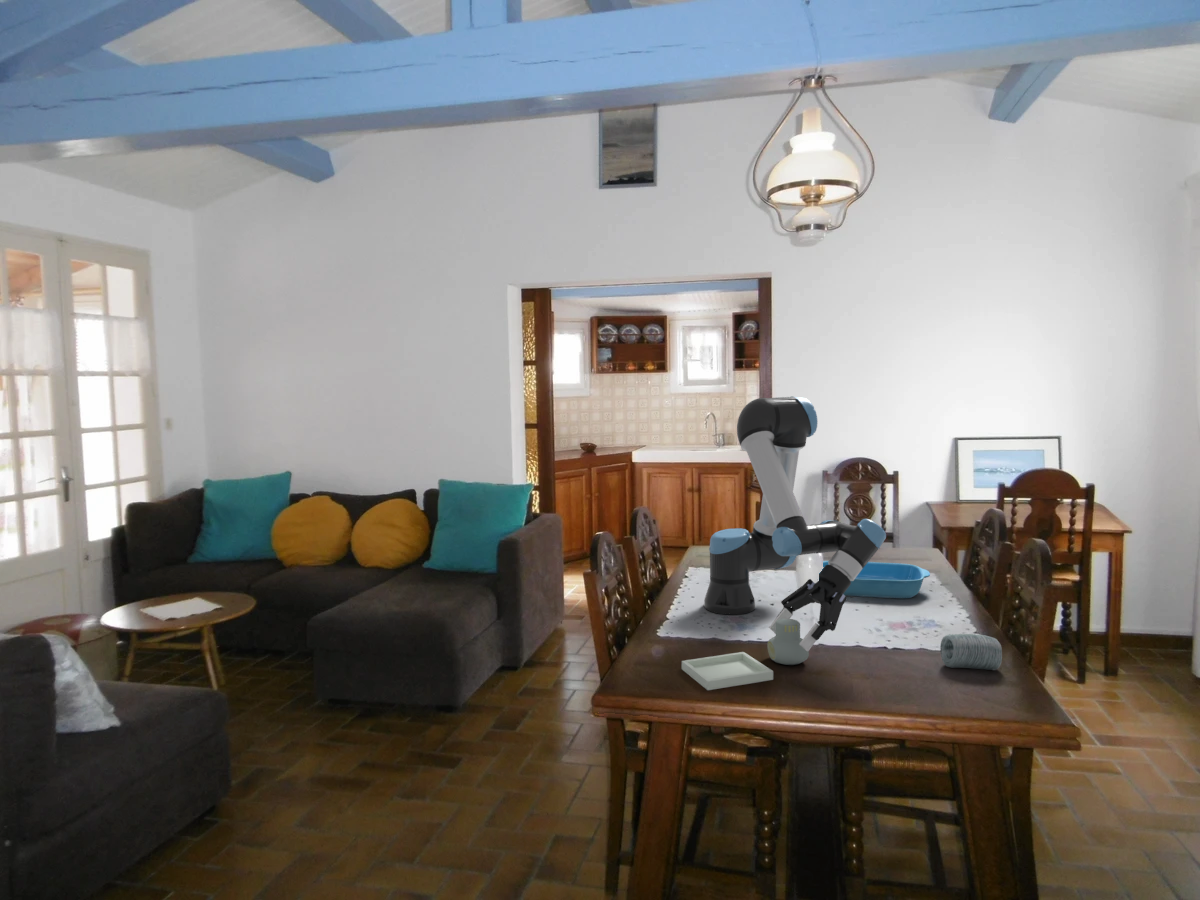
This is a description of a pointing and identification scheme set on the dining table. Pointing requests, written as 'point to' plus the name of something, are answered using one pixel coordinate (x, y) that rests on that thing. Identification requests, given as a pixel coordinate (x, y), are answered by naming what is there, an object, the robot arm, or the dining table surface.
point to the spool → (971, 651)
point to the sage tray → (726, 670)
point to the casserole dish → (887, 580)
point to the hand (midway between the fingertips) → (787, 639)
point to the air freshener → (787, 643)
